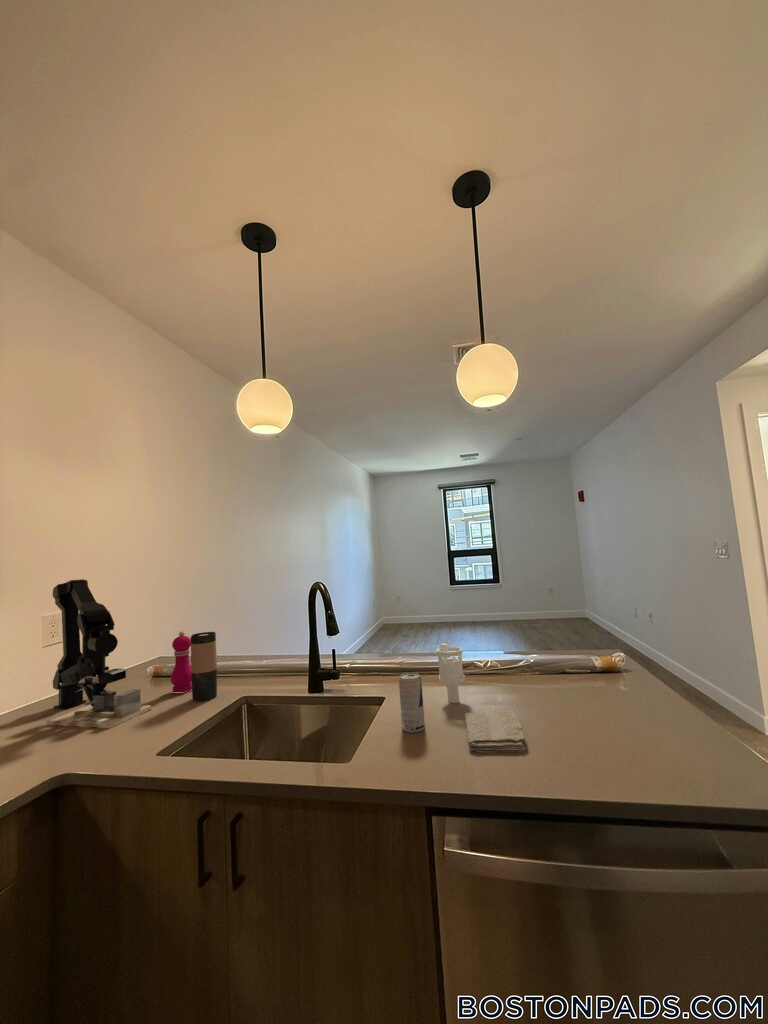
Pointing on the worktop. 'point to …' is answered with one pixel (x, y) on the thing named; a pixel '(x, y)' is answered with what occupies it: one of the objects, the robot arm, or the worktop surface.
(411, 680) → the energy drink
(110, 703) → the gauge slider
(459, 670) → the white stepped column
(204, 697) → the travel mug
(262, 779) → the worktop surface
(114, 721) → the gauge board
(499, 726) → the washcloth
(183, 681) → the pepper mill
